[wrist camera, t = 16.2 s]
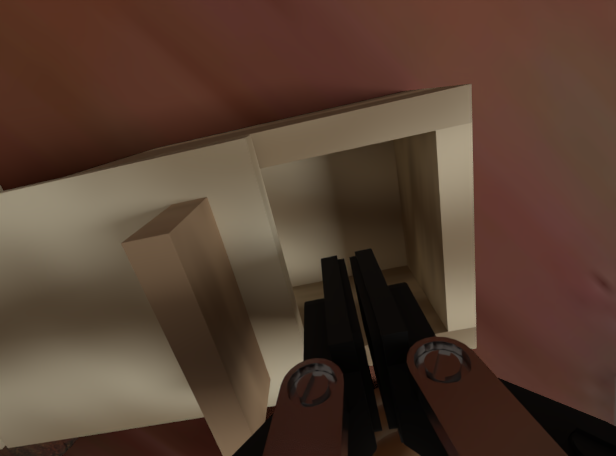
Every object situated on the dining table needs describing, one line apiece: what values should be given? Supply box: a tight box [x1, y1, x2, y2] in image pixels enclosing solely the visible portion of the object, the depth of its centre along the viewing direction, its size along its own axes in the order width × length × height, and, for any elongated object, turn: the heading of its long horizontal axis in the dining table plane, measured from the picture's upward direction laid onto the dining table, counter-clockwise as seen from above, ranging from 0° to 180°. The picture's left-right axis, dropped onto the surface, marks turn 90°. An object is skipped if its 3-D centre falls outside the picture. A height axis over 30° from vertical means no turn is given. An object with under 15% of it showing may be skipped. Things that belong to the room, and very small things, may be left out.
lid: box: [0, 135, 304, 456], centre depth 14 cm, size 11×16×10 cm
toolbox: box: [68, 84, 477, 366], centre depth 16 cm, size 11×14×7 cm
